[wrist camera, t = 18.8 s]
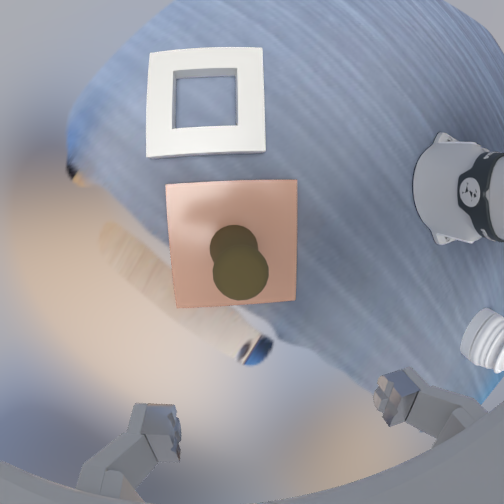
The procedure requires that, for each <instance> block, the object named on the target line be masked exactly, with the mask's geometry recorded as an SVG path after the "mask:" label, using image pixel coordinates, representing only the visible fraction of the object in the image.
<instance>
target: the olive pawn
mask: <svg viewBox="0 0 504 504" xmlns="http://www.w3.org/2000/svg"><path fill="white" fill-rule="evenodd" d="M210 255H211V258H212V260H213V262H214V266H213V280H214V283H215V285H216V287H217V288H218V290H219V291H220V292H221V293H222V294H223V295H225V296H226V297H228V298H230V299H233V300H238V301H240V300H248V299H251V298H253V297H255V296H257V295H258V294H259V293H260V292H262V290H263V289H264V287H265V286H266V284H267V280H268V277H269V267H268V264H267V261H266V259H265V258H264V256H263V255H262V254H261V253H260V251H258V243H257V240H256V237H255V236H254V235H253V233H252V232H251V231H250V230H249V229H247V228H245V227H244V226H240V225H228V226H225V227H223V228H221V229H220V230H218V231H217V232H216V233H215V234H214V236H213V238H212V239H211V243H210Z"/></svg>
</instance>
